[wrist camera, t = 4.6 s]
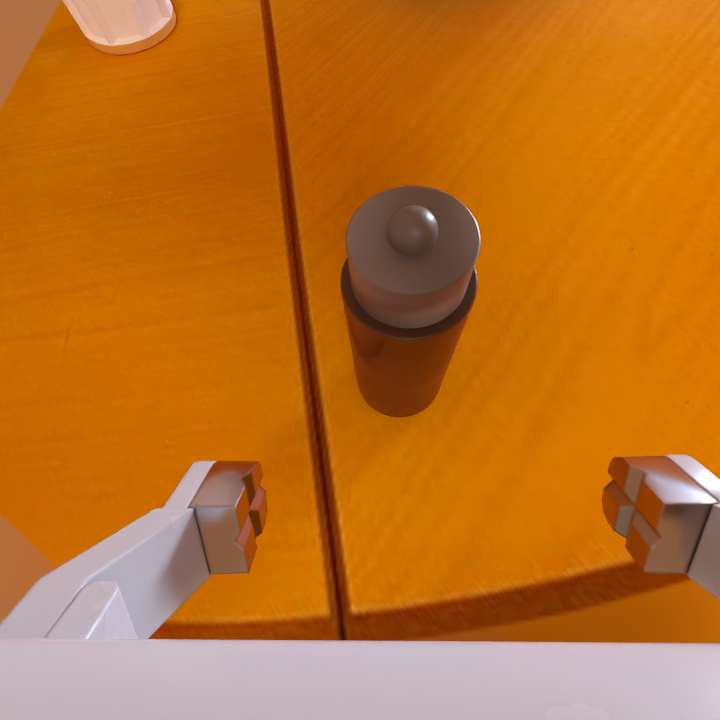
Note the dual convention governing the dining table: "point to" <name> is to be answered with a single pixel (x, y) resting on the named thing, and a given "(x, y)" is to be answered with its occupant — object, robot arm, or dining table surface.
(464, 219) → the pepper mill
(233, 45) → the dining table surface
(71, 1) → the cup
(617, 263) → the dining table surface
